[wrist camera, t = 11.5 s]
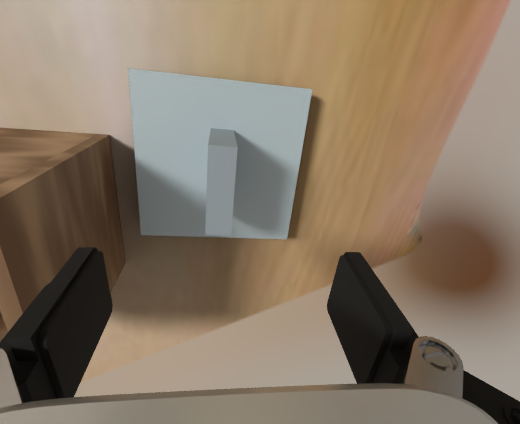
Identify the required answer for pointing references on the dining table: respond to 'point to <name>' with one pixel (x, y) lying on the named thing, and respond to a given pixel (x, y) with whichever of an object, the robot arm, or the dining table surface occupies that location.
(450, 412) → the robot arm
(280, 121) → the lid
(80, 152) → the crate
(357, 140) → the dining table surface
